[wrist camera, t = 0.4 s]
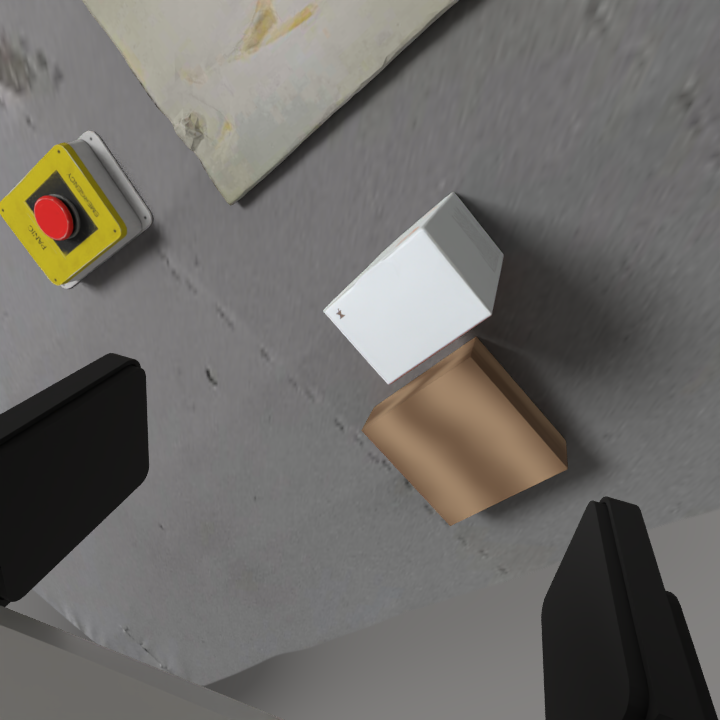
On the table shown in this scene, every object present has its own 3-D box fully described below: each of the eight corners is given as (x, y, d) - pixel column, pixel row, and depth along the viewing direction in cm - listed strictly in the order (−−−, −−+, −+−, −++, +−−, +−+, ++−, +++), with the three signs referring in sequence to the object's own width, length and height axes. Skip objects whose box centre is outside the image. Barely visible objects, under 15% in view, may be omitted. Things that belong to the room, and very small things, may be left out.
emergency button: (127, 230, 44) (35, 304, 51) (160, 219, 48) (69, 290, 55) (56, 127, 42) (-31, 219, 49) (96, 125, 46) (10, 211, 53)
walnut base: (476, 336, 43) (470, 356, 40) (565, 440, 45) (567, 468, 41) (374, 407, 49) (361, 430, 46) (456, 497, 51) (450, 525, 47)
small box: (426, 315, 44) (386, 388, 32) (376, 256, 43) (318, 310, 32) (507, 255, 40) (494, 315, 28) (455, 188, 39) (420, 223, 28)
